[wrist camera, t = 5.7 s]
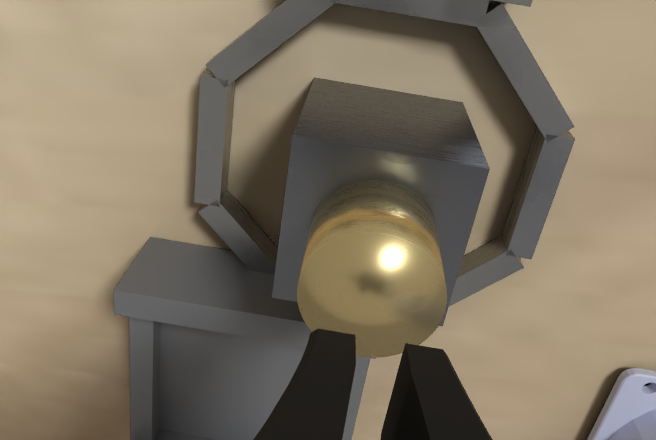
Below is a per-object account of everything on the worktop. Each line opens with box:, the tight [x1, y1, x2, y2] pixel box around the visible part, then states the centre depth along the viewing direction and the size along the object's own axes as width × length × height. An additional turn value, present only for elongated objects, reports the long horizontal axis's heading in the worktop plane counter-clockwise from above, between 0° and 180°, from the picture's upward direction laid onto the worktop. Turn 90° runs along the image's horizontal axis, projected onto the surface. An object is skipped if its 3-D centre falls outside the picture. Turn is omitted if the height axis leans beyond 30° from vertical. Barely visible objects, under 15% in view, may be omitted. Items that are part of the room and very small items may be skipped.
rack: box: [114, 237, 376, 440], centre depth 21 cm, size 8×9×3 cm
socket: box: [194, 0, 575, 307], centre depth 17 cm, size 11×12×2 cm
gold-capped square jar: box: [272, 78, 490, 357], centre depth 15 cm, size 4×4×8 cm
